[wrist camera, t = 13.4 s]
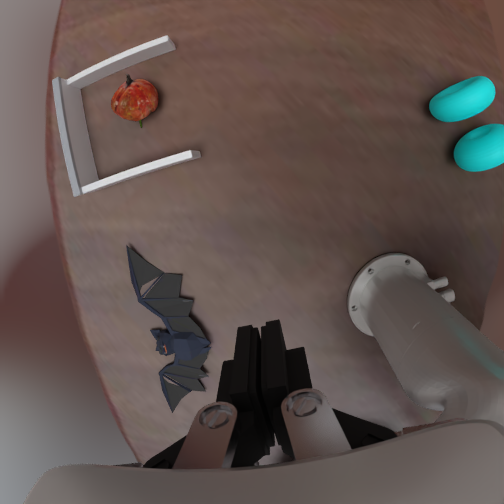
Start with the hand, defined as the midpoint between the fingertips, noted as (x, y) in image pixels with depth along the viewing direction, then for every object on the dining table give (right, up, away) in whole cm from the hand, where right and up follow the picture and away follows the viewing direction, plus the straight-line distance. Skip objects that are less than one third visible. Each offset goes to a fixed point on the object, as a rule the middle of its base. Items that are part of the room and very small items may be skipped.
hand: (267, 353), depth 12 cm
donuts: (+27, +22, +21) cm, 41 cm away
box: (-15, +21, +22) cm, 34 cm away
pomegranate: (-14, +22, +22) cm, 35 cm away
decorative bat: (-11, -8, +32) cm, 35 cm away
